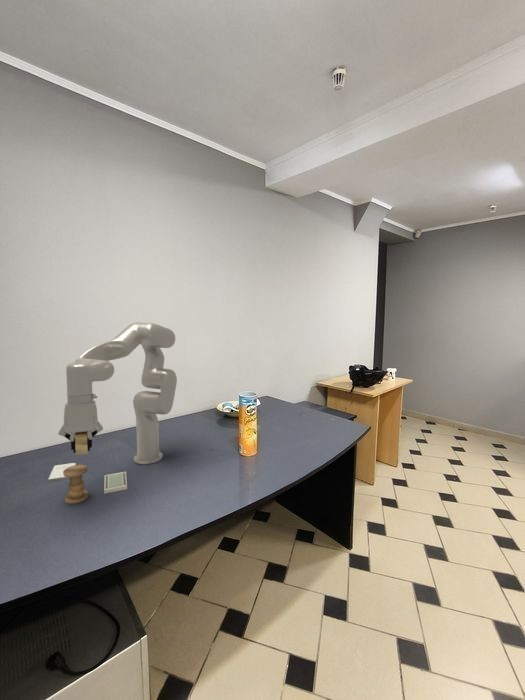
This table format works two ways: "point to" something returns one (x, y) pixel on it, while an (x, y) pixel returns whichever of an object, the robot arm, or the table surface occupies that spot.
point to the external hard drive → (59, 472)
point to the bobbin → (76, 484)
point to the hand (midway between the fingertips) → (81, 449)
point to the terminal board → (115, 482)
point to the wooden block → (81, 443)
